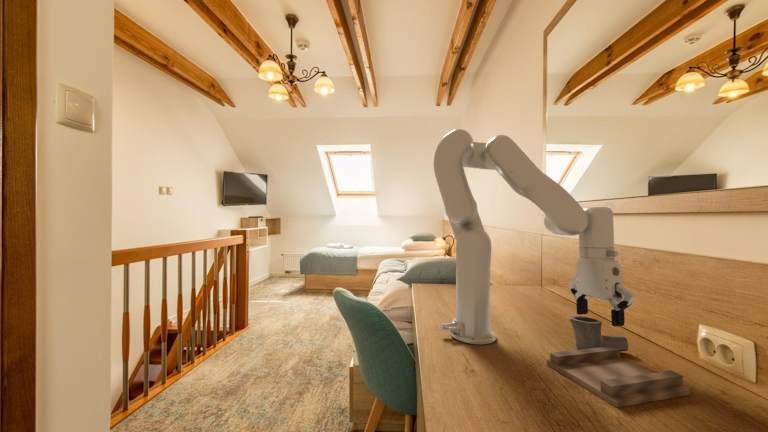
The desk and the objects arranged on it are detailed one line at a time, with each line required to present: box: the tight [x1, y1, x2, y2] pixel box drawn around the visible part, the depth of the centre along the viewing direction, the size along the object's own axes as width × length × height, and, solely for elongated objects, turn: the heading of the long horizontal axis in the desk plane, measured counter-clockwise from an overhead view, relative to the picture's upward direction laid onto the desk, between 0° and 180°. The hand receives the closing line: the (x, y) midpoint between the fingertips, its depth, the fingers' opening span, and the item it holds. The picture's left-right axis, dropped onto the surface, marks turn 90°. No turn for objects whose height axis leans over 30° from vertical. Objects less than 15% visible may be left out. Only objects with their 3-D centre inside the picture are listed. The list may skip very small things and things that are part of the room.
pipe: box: [568, 315, 629, 352], centre depth 76 cm, size 6×13×8 cm, turn 78°
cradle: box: [546, 346, 690, 408], centre depth 62 cm, size 18×16×3 cm
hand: (599, 319), depth 76 cm, fingers open, 9 cm apart
